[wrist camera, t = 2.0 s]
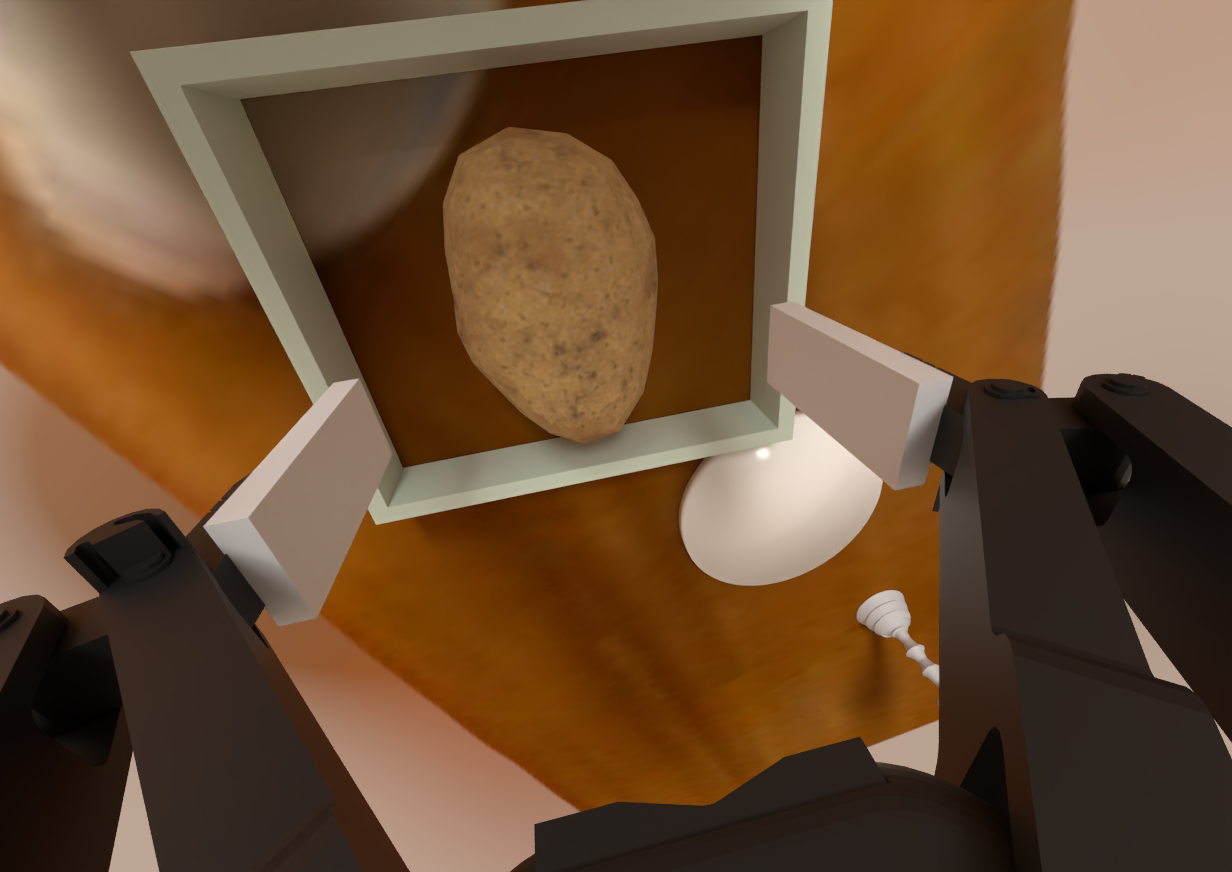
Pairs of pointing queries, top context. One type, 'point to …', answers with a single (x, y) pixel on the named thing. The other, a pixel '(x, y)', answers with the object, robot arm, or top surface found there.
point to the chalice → (895, 627)
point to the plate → (776, 507)
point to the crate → (601, 24)
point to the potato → (552, 279)
